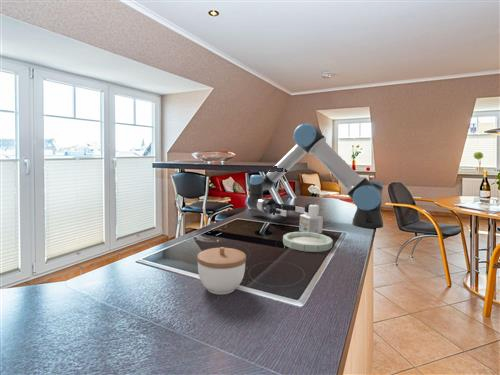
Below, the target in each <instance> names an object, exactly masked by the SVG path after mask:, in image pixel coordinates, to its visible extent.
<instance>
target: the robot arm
mask: <svg viewBox="0 0 500 375" xmlns="http://www.w3.org/2000/svg"><path fill="white" fill-rule="evenodd" d="M293 141H294V143H295V145H294V146H293V147H292V148H291V149H290V150H288V152H287V153H286V154H285V155H284V156H283V157H282V158H281V159H280V160H279V161H278V162H277V163H275V164H274V166H277V168H284V169H286V170H288V171H290V170H291V168H292V167H294V165H296V164H297V163H298V162H299V161H300V160H301V159H302V158H303V157H304V156H305V155H306V154H308V155H313V156H314V157H315V158H316V159H317V160H318V161H319V162H320V163H321V164H322V165H323V166H324V167H325V169H327V171H329V173H331V175H333V177H334V178H335V179H336V180H337V181H338V182H339V183H340V184H341V185H342V186H343V187H344V188H345V189H346V195H348V196H349V197H350V199H351V200H352V202H353V204H354V205H355V206H356V211H355V213H354V215H353V218H352V221H351V222H352V225H354V226H357V227H360V228H366V229H382V228H383V227H384V219H383V216H382V211H381V210H382V200H383V199H382V198H383V189H384V186H383V185H384V184H383V183H382V182H381V181H377V180H376V181H375V180H374V181H373V180H369V179H368V178H367V177H365V176H360V175H359V174H358V173H357V172H356V171H355V170H354V169H353V168H352V167H351V166H350V165H349V164H348V163H347V162H346V161H345V159H343V158H342V156H340V155H339V154H338V153H337V152H336V151H335V150H334V149H333V148H332V147H331V146H330V145H329V143H327V138H326V136H324V135H323V132H322V130H321V129H320V127H318V126H316V125H313V124H311V123H306V122H305V123H302V124H299V125H298V126H297V127H296V128H295V129H294V131H293ZM286 173H287V172H277V171H275V172H269V171H267V172H266V174H265V175H261V174H251V175H250V178H249V194H248V195H247V196H246V199H245V201H244V202H245V205H246V207H247V208H249V209H251V210H256V211H259V212H262V213H263V214H264V213H266V214H269V215H272V216H276V215H278V216H282V217H287V211H290V212H291V211H292V212H295V213H296V212H297V213H299V214H300V213H301V214H305V213H304V211H305V207H302V206H299V205H298V204H296V205H294V204H286V203H277V202H276V200H275V199H272V198H271V199H270V198H267V197H264V196H263V195H264V191H268V190H271V189H272V188H273V187H274V185H276V183H277V182H278V181H279V180H280V179H281V178H282V177H283V176H284V175H285V174H286Z"/></svg>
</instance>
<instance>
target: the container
mask: <svg viewBox="0 0 500 375" xmlns="http://www.w3.org/2000/svg"><path fill="white" fill-rule="evenodd" d="M304 208H305V211H304V213H305V214H304V213H301V214H300V215H299V224H298V225H299V226H298V227H299V230H298V231H299V232H312V233H318V234H323V227H324V226H323V225H324V224H323V222H324V221H323V220H324V217H323V216H321V215H320V206H319V205H318V204H315V203H306V204H305V205H304Z"/></svg>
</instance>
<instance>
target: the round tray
mask: <svg viewBox="0 0 500 375" xmlns="http://www.w3.org/2000/svg"><path fill="white" fill-rule="evenodd" d="M333 241H334V240H333V238H331V236H327V235H325V234H323V233H312V232H302V231H293V232H287V233H286V234H283V236H282V243H283V245H284V246H285V247H287V248H290V249H292V250H297V251H301V252H312V253H313V252H314V253H320V252H325V251H330V249H332V248H333V245H334V244H333Z"/></svg>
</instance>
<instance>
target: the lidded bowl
mask: <svg viewBox="0 0 500 375" xmlns="http://www.w3.org/2000/svg"><path fill="white" fill-rule="evenodd" d="M196 257H197V258H196V259H197V260H196V261H197V273H198V278H199V280H200V282H201V284H202V285H203V286H204V288H206V289H207V291H208V292H209V293H210V294H213V295H220V296H221V295H228V294H229V295H230V293H231V294H232V293H233V292H235V290H236V289H237V288H238V287H239V285H240V284H241V283H242V281H243V279H244V275H245V272H246V261H247V255H246V253H245V252H243V251H242V250H239V249H236V248H231V247H224V246H221V247H213V248H212V247H211V248H208V249H204V250H202V251H200V252H199V253H198V254H197V255H196Z"/></svg>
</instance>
